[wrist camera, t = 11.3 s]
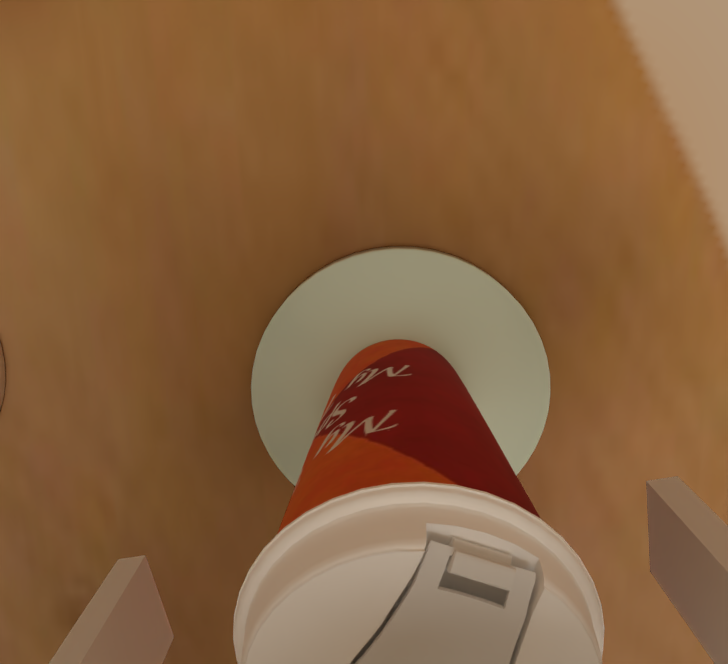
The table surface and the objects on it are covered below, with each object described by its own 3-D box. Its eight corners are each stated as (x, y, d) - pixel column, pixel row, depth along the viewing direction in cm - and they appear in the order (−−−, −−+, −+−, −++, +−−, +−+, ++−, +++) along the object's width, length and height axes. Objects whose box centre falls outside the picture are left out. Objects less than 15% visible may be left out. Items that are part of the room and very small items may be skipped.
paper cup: (341, 289, 22) (279, 468, 9) (514, 347, 23) (712, 604, 9) (287, 449, 24) (172, 793, 11) (447, 499, 25) (526, 888, 11)
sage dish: (291, 527, 27) (287, 542, 26) (226, 274, 23) (217, 280, 22) (553, 490, 26) (562, 505, 25) (528, 220, 22) (536, 223, 21)
